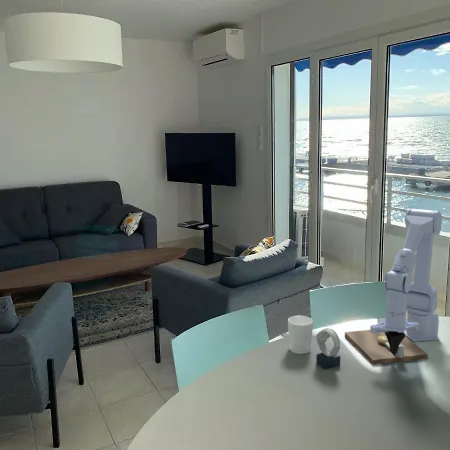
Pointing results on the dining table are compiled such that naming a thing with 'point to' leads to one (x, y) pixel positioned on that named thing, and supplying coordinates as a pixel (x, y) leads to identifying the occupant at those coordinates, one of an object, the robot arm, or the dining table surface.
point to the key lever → (385, 341)
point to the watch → (327, 357)
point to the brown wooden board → (383, 348)
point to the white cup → (300, 334)
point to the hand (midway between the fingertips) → (393, 353)
